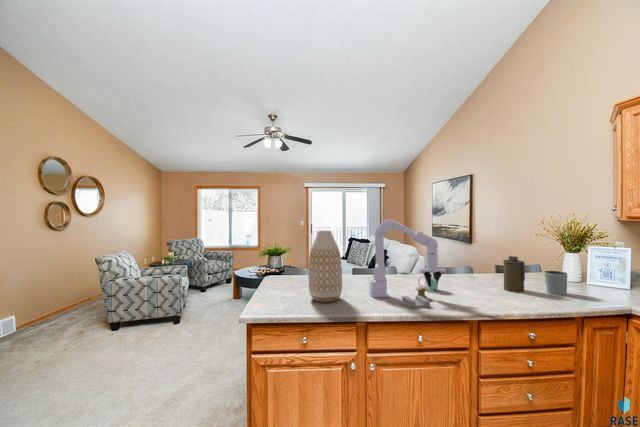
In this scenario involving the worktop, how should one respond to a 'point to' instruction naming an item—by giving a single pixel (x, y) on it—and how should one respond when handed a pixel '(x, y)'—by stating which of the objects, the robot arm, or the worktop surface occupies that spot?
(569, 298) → the worktop surface
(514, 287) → the canister
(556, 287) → the grey pot
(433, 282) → the tab
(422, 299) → the board
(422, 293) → the bobbin
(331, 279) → the vase
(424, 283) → the cup
